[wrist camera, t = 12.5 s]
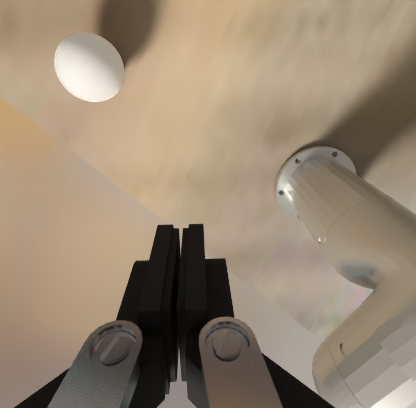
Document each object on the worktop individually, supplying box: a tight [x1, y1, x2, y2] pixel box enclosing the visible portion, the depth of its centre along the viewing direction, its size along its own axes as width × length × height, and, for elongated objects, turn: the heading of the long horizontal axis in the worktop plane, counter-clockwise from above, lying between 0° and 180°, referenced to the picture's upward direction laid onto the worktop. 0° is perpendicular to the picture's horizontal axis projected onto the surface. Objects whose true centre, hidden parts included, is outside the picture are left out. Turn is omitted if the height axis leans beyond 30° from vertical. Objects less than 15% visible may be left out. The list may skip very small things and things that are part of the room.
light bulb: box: [54, 32, 125, 102], centre depth 31 cm, size 7×7×11 cm
